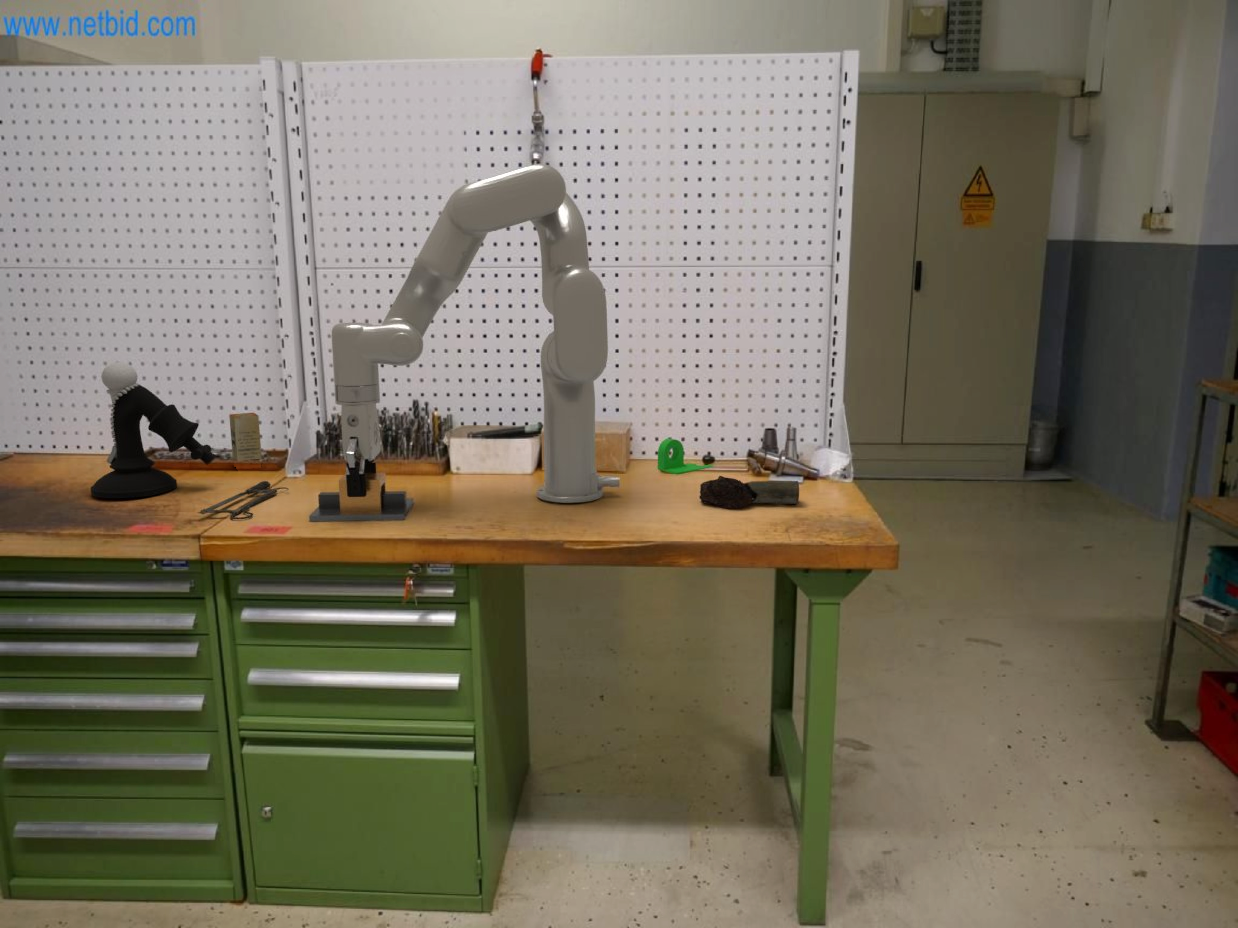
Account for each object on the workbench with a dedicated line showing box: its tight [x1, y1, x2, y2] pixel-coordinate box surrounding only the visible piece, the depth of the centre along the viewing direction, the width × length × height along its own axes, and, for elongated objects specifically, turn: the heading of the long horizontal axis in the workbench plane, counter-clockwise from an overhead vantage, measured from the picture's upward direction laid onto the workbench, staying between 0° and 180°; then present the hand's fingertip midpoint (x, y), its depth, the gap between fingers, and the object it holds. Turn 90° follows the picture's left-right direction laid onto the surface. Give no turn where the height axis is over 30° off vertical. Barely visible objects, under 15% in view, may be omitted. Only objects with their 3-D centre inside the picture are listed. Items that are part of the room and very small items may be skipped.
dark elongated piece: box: [698, 475, 800, 510], centre depth 172 cm, size 18×7×6 cm, turn 87°
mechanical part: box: [657, 438, 713, 476], centre depth 200 cm, size 12×6×8 cm, turn 129°
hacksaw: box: [197, 480, 289, 520], centre depth 175 cm, size 24×10×1 cm, turn 171°
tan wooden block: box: [338, 472, 387, 511], centre depth 169 cm, size 7×6×6 cm
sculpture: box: [90, 361, 217, 499], centre depth 184 cm, size 15×24×25 cm, turn 92°
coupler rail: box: [308, 490, 415, 522], centre depth 169 cm, size 16×12×4 cm
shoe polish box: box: [228, 412, 263, 461], centre depth 204 cm, size 5×5×12 cm
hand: (362, 490), depth 169 cm, fingers open, 9 cm apart
